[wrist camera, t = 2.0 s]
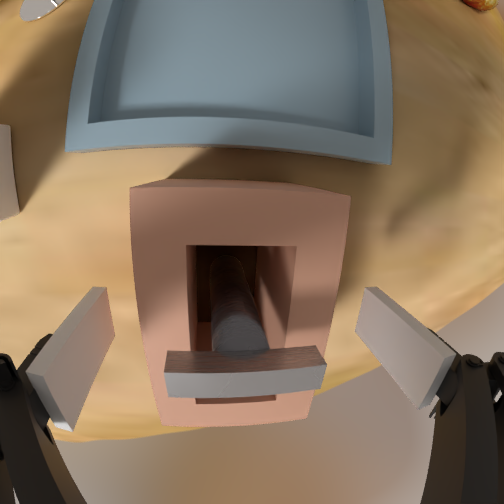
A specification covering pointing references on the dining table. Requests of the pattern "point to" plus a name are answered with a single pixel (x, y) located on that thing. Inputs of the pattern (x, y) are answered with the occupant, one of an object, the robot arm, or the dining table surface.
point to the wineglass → (38, 9)
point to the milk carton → (7, 176)
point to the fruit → (482, 4)
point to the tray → (235, 77)
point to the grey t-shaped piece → (239, 349)
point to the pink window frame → (266, 279)
